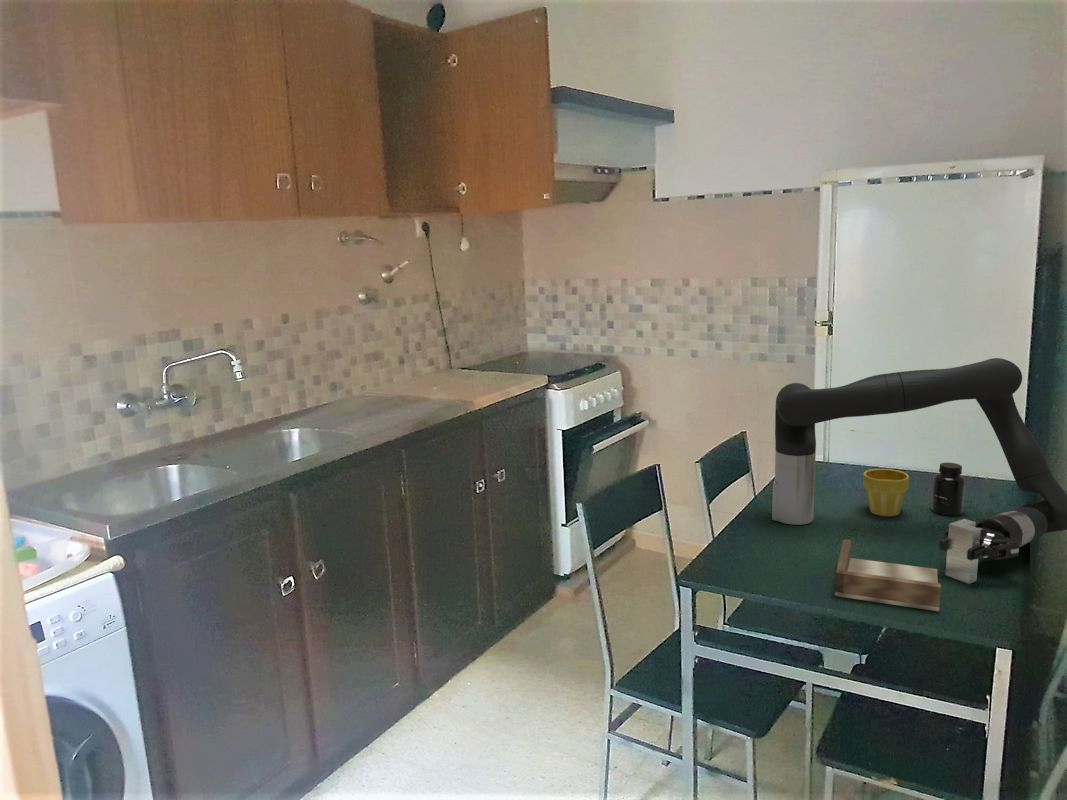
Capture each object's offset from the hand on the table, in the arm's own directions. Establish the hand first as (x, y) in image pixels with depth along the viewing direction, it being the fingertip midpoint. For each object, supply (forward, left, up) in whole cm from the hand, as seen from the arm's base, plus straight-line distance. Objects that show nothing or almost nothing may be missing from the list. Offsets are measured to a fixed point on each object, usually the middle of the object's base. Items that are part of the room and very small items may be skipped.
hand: (955, 550), depth 157 cm
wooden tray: (-12, -6, -6) cm, 15 cm away
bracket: (+2, +3, -6) cm, 8 cm away
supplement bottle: (0, +42, -7) cm, 43 cm away
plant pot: (-14, +37, -7) cm, 40 cm away
